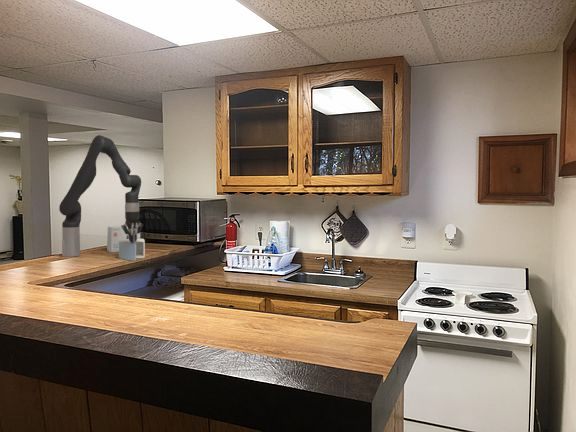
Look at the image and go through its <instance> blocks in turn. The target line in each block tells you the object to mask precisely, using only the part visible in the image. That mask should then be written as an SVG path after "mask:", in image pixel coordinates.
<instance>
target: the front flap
mask: <svg viewBox="0 0 576 432" xmlns="http://www.w3.org/2000/svg"><path fill="white" fill-rule="evenodd" d="M118 259H120V260H127V261H133V262H136V261H137V258H136V244H135V233H133V242H130V243H127V242H119V251H118Z"/></svg>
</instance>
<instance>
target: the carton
mask: <svg viewBox="0 0 576 432" xmlns="http://www.w3.org/2000/svg"><path fill="white" fill-rule="evenodd" d="M119 242H127V243H130V241H129V239H119ZM145 242H146V241H145V239H144V238H140V239H137V240H136V241H135V244H136V259H139V258H140V259H141V258H142V259H143V258H145V257H146V256H145V255H146V250H145V249H146V245H145Z"/></svg>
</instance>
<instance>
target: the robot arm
mask: <svg viewBox="0 0 576 432" xmlns="http://www.w3.org/2000/svg"><path fill="white" fill-rule="evenodd" d="M100 153H102V154H105V155H106V156H108V157H109V158H110V159H111V166H112V169H114V171H115V172H116V173H117V175H118V177H119V180H120V183H121V185H122V186H123V187H124V188H127V189H130V188H131V189H130V191H127V192H126V193H124V194H125V195H124V200H125V201H124V202H125V204H124V218H125V222H124V224H122V225H120V226H121V227H122V229H123V230H124V232H125V234H128V235H129V241H130V242H133V233H135V241H136V240H137V234H138V233H140V234H141V232H142V229H143V227H144V223H141V221H140V203H139V202H140V201H139V200H140V199H139V197H140V196H139V195H140V190H141V187H142V178H141V176H139V175H138V174H131V172H132V170H131V168H130V167H129V165H128V163H126V162H125V160H124V159H123V157H122V156H121V154H120V152H119V151H118V148H117V146H116V145H115V143H114V141H113V140H112V139H111V138H109V137H106V136H104V135H101V134H99V135H96V136H95V137H93V139H92V141H91V142H90V145H89V148H88V151H87V154H86V156H85V158H84V161H83V162H82V164H81V166H80V168H79V170H78V172H77V173H76V175H75V177H74V180H73V182H72V183H71V186H70V187H69V189H68V191H67V193H66V194H65V196H64V197H63V199H62V200H61V201H60V204H59V207H58V208H59V209H58V210H59V212H60V214H61V215H62V216H65V219H64V220H63V222H62V224H61V226H62V228H61V231H62V232H61V233H62V234H61V235H62V236H61V237H62V239H61V248H62V249H61V250H62V251H61V252H62V253H61V254H62V255H61V256H62V257H63V258H65V257H67V258H68V257H69V258H71V257H79V256H81V239H80V238H81V235H80V234H81V233H80V231H81V229H80V223H81V222H82V205H81V203H80V201H79V200H80V197H81V196H82V195H83V194H84V193H85V192H86V191H87V190H88V189H89V188H90V187H91V186H92V184H93V181H94V180H95V178H96V176H97V159H98V158H99V154H100ZM127 227H128V229H127Z"/></svg>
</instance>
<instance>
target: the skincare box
mask: <svg viewBox="0 0 576 432" xmlns="http://www.w3.org/2000/svg"><path fill="white" fill-rule="evenodd" d="M127 229H128V227H127ZM119 239H129V235H128V234H125V232H124V230H123V229H122V227H121V225H118V226H117V225H115V226H107V241H106V242H107V251H106V252H109V253H116V252H118V253H119ZM137 239H141V232H140V233H138V234H137Z"/></svg>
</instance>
